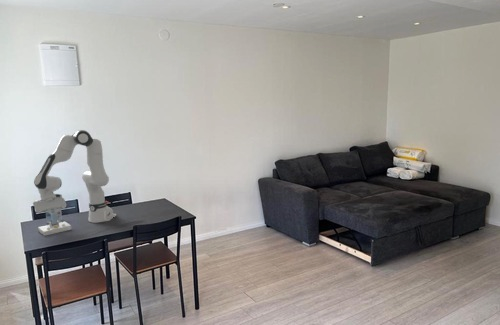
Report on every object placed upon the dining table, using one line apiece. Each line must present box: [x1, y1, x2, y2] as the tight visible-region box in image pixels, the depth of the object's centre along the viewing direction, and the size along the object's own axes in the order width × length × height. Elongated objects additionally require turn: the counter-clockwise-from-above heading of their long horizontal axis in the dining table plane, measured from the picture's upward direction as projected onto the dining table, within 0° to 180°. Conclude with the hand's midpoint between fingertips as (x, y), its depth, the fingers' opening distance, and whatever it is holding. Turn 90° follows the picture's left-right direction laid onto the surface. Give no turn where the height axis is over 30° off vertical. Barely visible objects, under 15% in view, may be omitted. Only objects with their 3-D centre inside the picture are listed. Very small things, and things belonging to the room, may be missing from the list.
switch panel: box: [37, 220, 72, 236], centre depth 261 cm, size 13×18×6 cm
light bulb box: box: [45, 209, 63, 225], centre depth 280 cm, size 11×7×11 cm, turn 122°
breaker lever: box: [51, 212, 57, 226], centre depth 260 cm, size 2×3×11 cm
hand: (53, 214), depth 259 cm, fingers closed, pressing on breaker lever
